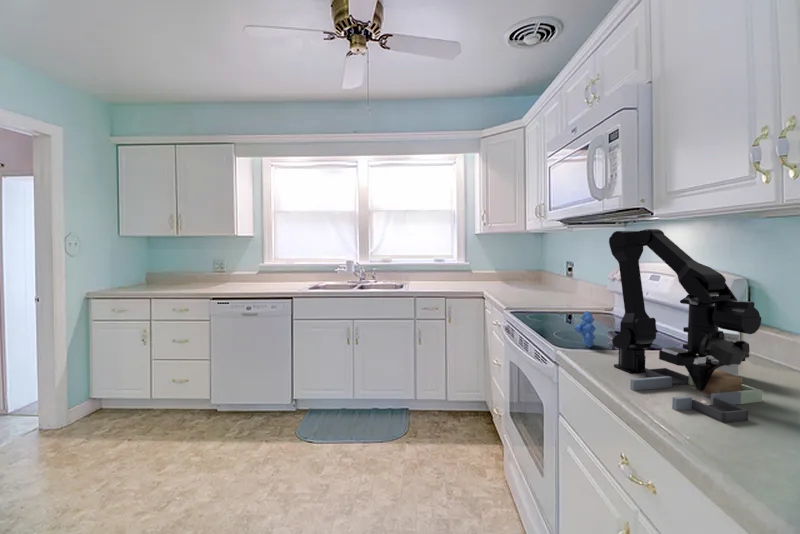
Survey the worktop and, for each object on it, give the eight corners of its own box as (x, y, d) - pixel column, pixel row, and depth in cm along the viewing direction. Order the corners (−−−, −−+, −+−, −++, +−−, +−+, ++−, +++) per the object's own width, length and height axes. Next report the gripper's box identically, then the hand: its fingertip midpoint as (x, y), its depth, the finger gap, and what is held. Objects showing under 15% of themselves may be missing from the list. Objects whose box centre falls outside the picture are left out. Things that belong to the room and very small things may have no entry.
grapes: (571, 341, 148) (572, 308, 147) (591, 342, 146) (592, 309, 145) (576, 349, 136) (577, 314, 136) (598, 350, 135) (599, 315, 134)
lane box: (610, 379, 106) (610, 370, 106) (683, 373, 111) (684, 364, 111) (706, 424, 80) (707, 412, 80) (798, 414, 84) (798, 402, 84)
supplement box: (703, 369, 114) (705, 325, 113) (737, 375, 109) (739, 329, 109) (702, 376, 108) (704, 330, 108) (738, 382, 104) (740, 333, 103)
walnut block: (696, 389, 99) (696, 371, 99) (716, 387, 100) (717, 369, 100) (720, 398, 93) (720, 379, 93) (741, 396, 94) (742, 377, 94)
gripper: (701, 334, 85) (699, 407, 86) (772, 330, 89) (769, 400, 90) (658, 324, 96) (656, 388, 97) (722, 320, 100) (720, 383, 100)
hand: (700, 390), depth 96 cm, fingers closed
